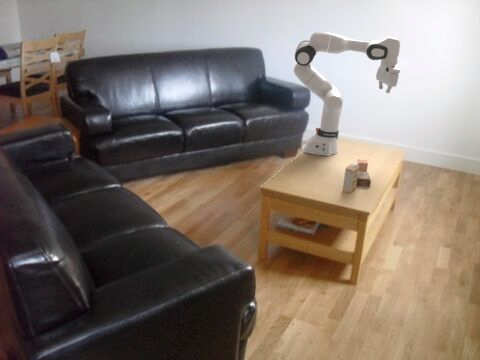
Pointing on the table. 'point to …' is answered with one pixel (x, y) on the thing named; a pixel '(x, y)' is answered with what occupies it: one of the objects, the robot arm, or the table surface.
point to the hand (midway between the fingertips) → (384, 90)
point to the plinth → (363, 179)
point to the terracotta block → (362, 165)
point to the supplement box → (350, 178)
